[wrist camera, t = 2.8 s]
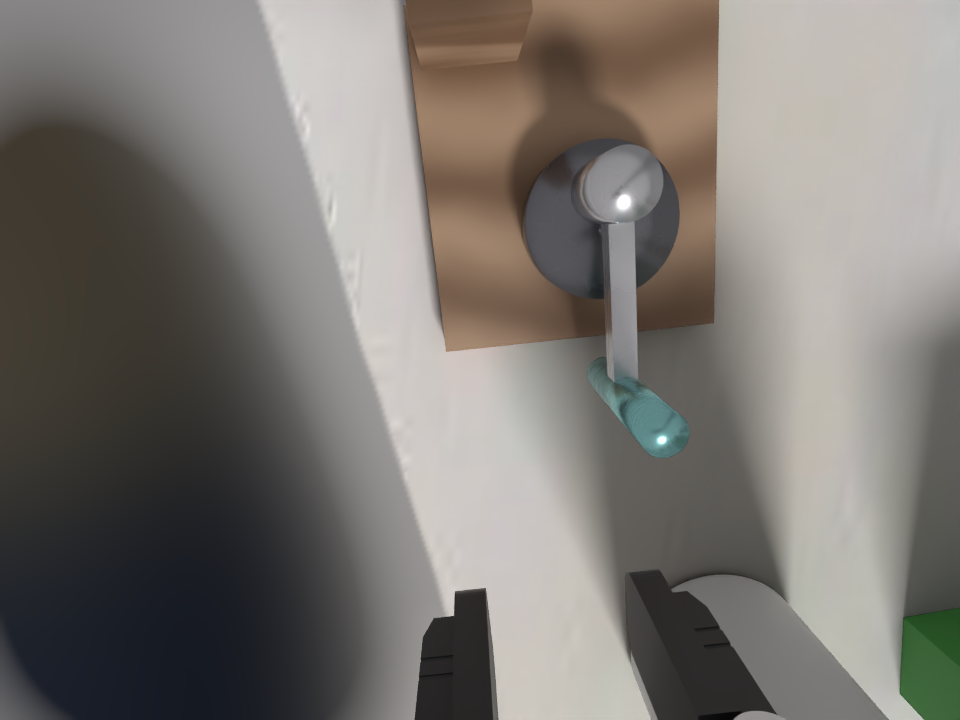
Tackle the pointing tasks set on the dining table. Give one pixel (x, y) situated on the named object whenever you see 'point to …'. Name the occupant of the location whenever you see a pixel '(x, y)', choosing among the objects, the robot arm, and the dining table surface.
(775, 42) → the dining table surface
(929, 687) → the hardback book
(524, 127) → the stand
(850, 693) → the cylinder vase
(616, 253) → the lever
